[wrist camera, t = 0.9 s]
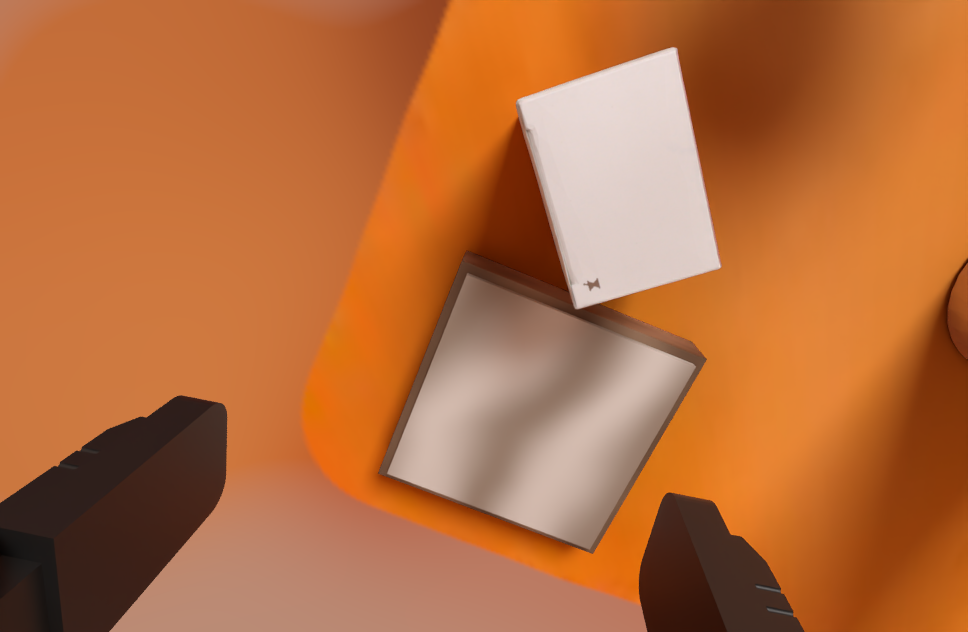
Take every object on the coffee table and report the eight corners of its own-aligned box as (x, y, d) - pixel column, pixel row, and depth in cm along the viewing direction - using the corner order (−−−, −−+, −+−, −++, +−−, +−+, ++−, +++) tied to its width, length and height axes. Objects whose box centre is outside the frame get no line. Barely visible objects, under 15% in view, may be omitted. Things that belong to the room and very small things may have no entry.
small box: (657, 227, 30) (726, 274, 20) (557, 257, 31) (575, 316, 21) (623, 75, 27) (682, 41, 17) (515, 111, 28) (513, 98, 18)
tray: (691, 341, 32) (709, 362, 29) (587, 525, 36) (593, 558, 33) (466, 250, 31) (461, 262, 28) (388, 449, 35) (376, 477, 32)
